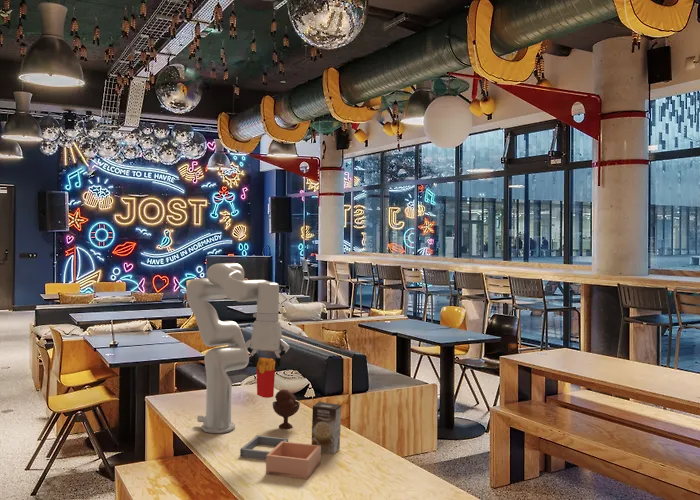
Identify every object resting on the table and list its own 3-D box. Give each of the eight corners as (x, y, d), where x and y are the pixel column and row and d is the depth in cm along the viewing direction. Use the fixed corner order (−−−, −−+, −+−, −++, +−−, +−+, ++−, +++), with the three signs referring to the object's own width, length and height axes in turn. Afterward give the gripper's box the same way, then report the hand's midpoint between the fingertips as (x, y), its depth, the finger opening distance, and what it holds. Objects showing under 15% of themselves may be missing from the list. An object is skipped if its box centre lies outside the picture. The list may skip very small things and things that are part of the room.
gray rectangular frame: (240, 456, 215) (240, 449, 215) (257, 442, 230) (257, 435, 230) (273, 460, 212) (273, 453, 212) (288, 445, 227) (288, 438, 227)
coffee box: (310, 450, 222) (311, 405, 222) (317, 444, 228) (318, 401, 228) (334, 454, 219) (335, 409, 219) (340, 448, 225) (341, 404, 225)
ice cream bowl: (295, 432, 241) (296, 393, 241) (267, 429, 244) (268, 391, 243) (302, 424, 252) (303, 387, 251) (276, 421, 254) (277, 385, 253)
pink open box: (265, 473, 201) (266, 455, 200) (281, 458, 214) (281, 441, 214) (307, 479, 197) (308, 460, 197) (320, 463, 211) (320, 445, 211)
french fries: (253, 393, 222) (254, 357, 222) (263, 391, 225) (264, 355, 225) (267, 399, 215) (268, 361, 215) (278, 397, 218) (278, 360, 218)
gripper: (240, 317, 218) (239, 367, 218) (287, 320, 213) (286, 372, 214) (248, 314, 225) (247, 363, 226) (294, 317, 221) (293, 367, 221)
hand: (266, 367), depth 220 cm, fingers closed on french fries, 7 cm apart
